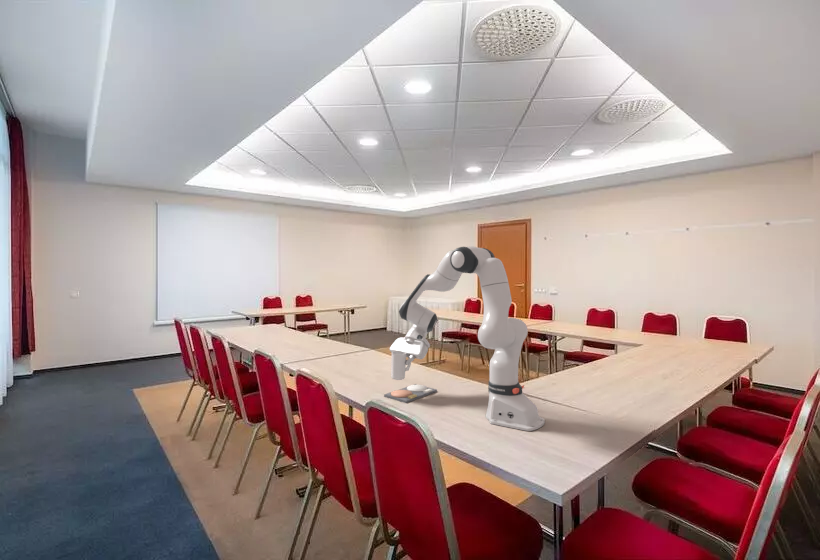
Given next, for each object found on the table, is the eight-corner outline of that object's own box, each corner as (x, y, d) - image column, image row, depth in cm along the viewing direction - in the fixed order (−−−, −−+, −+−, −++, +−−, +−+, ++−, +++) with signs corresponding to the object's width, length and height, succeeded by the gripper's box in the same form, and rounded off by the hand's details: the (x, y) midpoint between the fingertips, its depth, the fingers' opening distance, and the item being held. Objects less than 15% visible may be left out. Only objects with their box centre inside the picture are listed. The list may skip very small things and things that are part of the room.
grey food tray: (437, 391, 191) (437, 387, 190) (406, 403, 174) (406, 399, 174) (415, 386, 200) (415, 382, 200) (384, 396, 184) (384, 392, 184)
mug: (394, 381, 178) (395, 355, 177) (388, 376, 184) (389, 351, 183) (414, 378, 183) (415, 353, 182) (407, 373, 189) (408, 349, 188)
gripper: (395, 333, 195) (381, 355, 188) (427, 337, 181) (413, 362, 175) (401, 340, 199) (388, 363, 192) (433, 345, 185) (419, 370, 178)
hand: (400, 363), depth 183 cm, fingers closed on mug, 6 cm apart
